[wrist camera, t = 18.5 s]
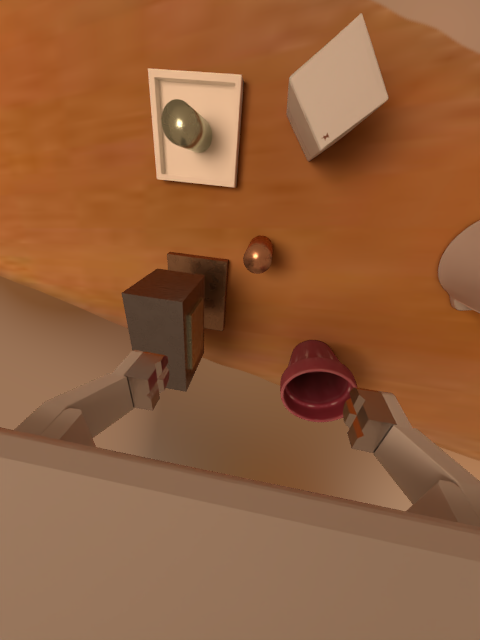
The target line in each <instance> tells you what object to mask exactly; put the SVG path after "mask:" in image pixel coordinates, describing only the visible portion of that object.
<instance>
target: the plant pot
mask: <svg viewBox="0 0 480 640" xmlns="http://www.w3.org/2000/svg"><path fill="white" fill-rule="evenodd" d="M354 387H355V388H357V384H356V381H355V379H354V376H353V374H352V373H351V371H350V370H349V369H348V368H347V367H346V366H345V365H343V364H342V363H340V361H339V360H338V359H337V357H336V356H335V354H334V353H333V352H332V350H331V349H330V347H329V346H328V345H327V344H325V343H323V342H321V341H317V340H308V341H304V342H302V343H300V344H298V345H297V346H296V347H295V348H294V350H293V352H292V355H291V359H290V362H289V365H288V368H287V369H286V370H285V371H284V373H283V375H282V378H281V387H280V391H281V399H282V402H283V404H284V406H285V407H286V408H287V409H288V410H289V411H290V412H291V413H292V414H294V415H295V416H297V417H299V418H301V419H304V420H308V421H314V422H329V421H334V420H338V419H341V418H343V407H344V404H345V402H346V400H348V399H350V398H351V397H350V394H349V393H350V391H351V389H352V388H354Z"/></svg>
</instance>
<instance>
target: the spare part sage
mask: <svg viewBox="0 0 480 640" xmlns="http://www.w3.org/2000/svg"><path fill="white" fill-rule="evenodd" d="M162 128H163V131H164V133H165V135H166V137H167V138H168V139H169V141H171V142H172V143H173V144H175V145H178V146H180V147H183V148H186V149H188V150H191V151H193V152H196V153H202V152H204V151H206V150H207V149H208V148H209V146H210V145H211V142H212V130H211V127H210V125H209V123H208V122H207V120H206V119H204V118H203V117H202V116H201V115H200V114H199V113H198V112H196V111H195V110H194V109H193V108H192V107H191V106H190V105H188V104H187V103H186V102H185V101H183V100H180V99H174V100H171V101H170V102H168V103H167V104H166V106H165V107H164V109H163V112H162Z"/></svg>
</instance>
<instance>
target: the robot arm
mask: <svg viewBox="0 0 480 640" xmlns="http://www.w3.org/2000/svg"><path fill="white" fill-rule="evenodd" d="M438 278H439V281H440V284H441V285H442V287H443V288H444V289H445V290H446V291H447V293H448V294H449V295H450V302H451V305H452V307H453V308H455V309H457V310H474V311H476V312H478V313H480V221H478V222H476V223H474V224H472V225H471V226H469V227H468V228H466V229H465V230H464V231H463V232H461V233H460V234H459V235H458V236H457V237H456V238H455V239H454V240H453V241H452V242H451V243H450V245H449V246H448V247H447V249H446V250H445V252H444V254H443V256H442V258H441V260H440V263H439V268H438ZM167 364H168V357H167V356H166V355H161V354H155V353H150V352H144V351H139V350H133V351H131V352H130V354H129V355H128V356H127V357H126V358H125V359H124V360H123V361H122V362H121V364H120V365H119V366H118V367H117V368H116V369H115V370H114V372H112V374H106V375H103V376H101V377H99V378H97V379H94V380H92V381H90V382H88V383H85V384H83V385H81V386H79V387H76V388H74V389H72V390H70V391H67V392H65V393H63V394H61V395H58V396H56V397H54V398H52V399H50V400H47V401H45V402H44V403H43V404H42V405H41V406H39V407H38V408H37V409H36V410H35V411H34V412H33V413H32V414H31V415H30V416H29V417H28V418H26V419H25V420H24V421H23V422H22V423H21V424H20V425H19V426H18V427H17V428H16V429H14V430H10V429H6V428H1V427H0V640H480V481H479V480H478V479H476V478H475V477H474V476H473V475H472V474H470V473H469V472H468V471H467V470H466V469H464V468H463V467H462V466H461V465H459V464H458V463H457V462H456V461H455V460H454V459H452V458H451V457H450V456H449V455H448V454H446V453H445V452H444V451H443V450H442V449H440V448H439V447H438V446H437V445H436V444H434V443H433V442H432V441H431V440H430V439H428V438H427V437H426V436H425V435H423V434H422V433H421V432H420V431H419V430H417V429H415V428H412V426H411V424H410V422H409V421H408V419H407V417H406V415H405V413H404V412H403V410H402V408H401V406H400V404H399V403H398V401H397V399H396V397H395V396H394V395H393V394H392V393H388V392H381V391H374V390H368V389H362V388H355V387H354V388H352V389H351V391H350V393H349V394H350V397H351V398H350V399H348V400H346V402H345V404H344V407H343V418H344V422H345V424H346V425H347V426H348V427H349V428H350V429H349V431H348V437H349V440H350V444H351V448H352V449H357V450H361V451H366V452H370V453H374V456H375V457H376V458H377V459H378V461H379V462H380V463H381V464H382V466H383V467H384V468H385V469H386V471H387V472H388V473H389V474H390V476H391V477H392V478H393V480H394V481H395V482H396V483H397V485H398V486H399V487H400V488H401V490H402V491H403V492H404V494H405V495H406V496H407V497H408V499H409V500H410V501H411V502H412V504H413V505H412V506H411V507H410V508H409V509H408V510H407V511H401V510H396V509H391V508H386V507H381V506H377V505H372V504H367V503H362V502H357V501H353V500H348V499H343V498H338V497H333V496H328V495H324V494H319V493H314V492H309V491H304V490H300V489H294V488H290V487H285V486H280V485H275V484H271V483H266V482H261V481H256V480H251V479H246V478H242V477H237V476H232V475H226V474H222V473H217V472H213V471H207V470H203V469H198V468H192V467H188V466H183V465H179V464H174V463H169V462H164V461H159V460H155V459H150V458H145V457H140V456H136V455H131V454H126V453H121V452H116V451H111V450H107V449H102V448H97V447H96V446H95V443H94V441H93V437H95V436H96V435H98V434H99V433H100V432H102V431H103V430H105V429H106V428H107V427H109V426H110V425H111V424H113V423H114V422H116V421H117V420H119V419H120V418H121V417H123V416H124V415H126V414H127V413H128V412H130V411H131V410H133V408H140V409H146V410H153V409H154V408H155V406H156V404H157V402H158V400H159V399H160V396H159V393H161V392H162V391H164V390H165V388H166V386H167V383H168V380H169V369H168V368H167V367H166V365H167Z"/></svg>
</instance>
